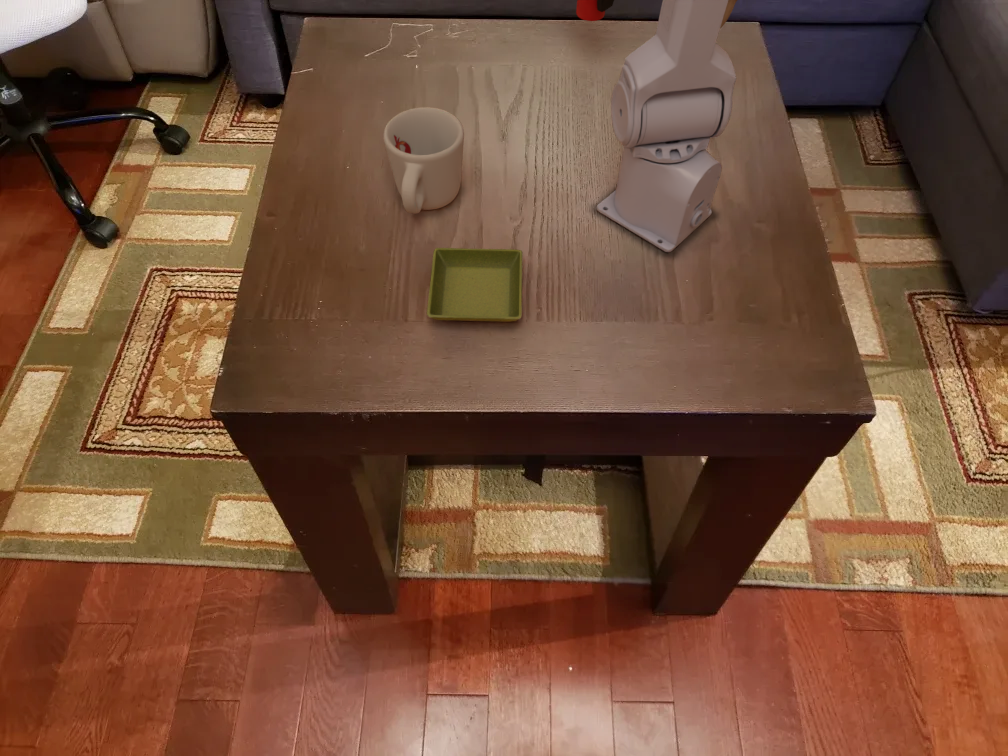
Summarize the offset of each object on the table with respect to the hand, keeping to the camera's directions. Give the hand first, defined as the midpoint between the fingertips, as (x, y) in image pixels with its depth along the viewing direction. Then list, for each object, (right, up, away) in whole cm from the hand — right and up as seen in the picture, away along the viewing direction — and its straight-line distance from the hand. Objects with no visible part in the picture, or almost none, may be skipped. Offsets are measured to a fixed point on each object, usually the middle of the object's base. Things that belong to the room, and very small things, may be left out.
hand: (591, 1), depth 86 cm
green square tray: (-13, -36, -15) cm, 41 cm away
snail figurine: (+13, -7, +6) cm, 16 cm away
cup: (-18, -25, -7) cm, 32 cm away
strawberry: (0, -1, +1) cm, 1 cm away
